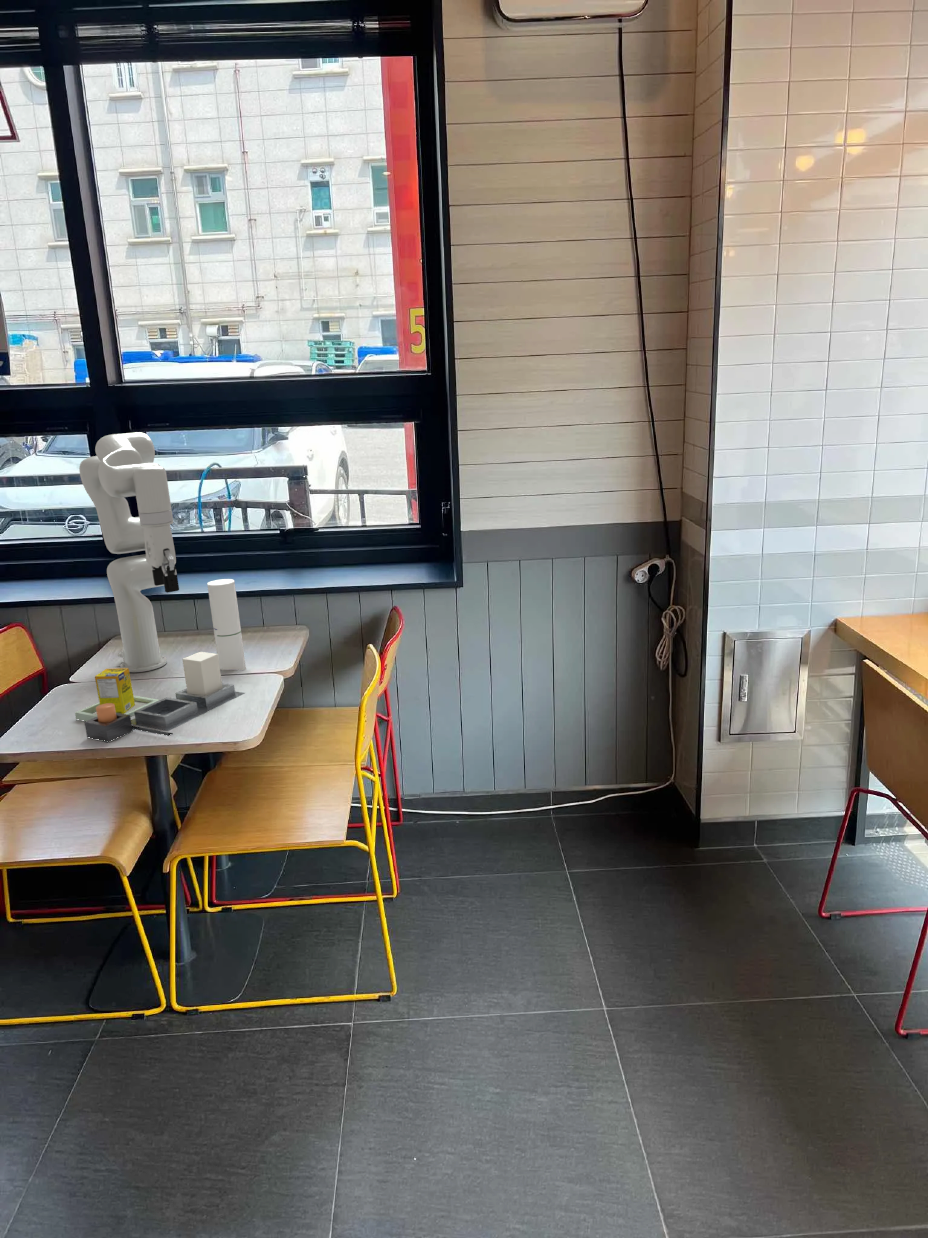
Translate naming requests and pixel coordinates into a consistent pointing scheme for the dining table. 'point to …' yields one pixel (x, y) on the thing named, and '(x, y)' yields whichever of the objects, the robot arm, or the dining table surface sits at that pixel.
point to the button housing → (108, 728)
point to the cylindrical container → (226, 624)
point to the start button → (106, 713)
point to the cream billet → (202, 673)
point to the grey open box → (180, 709)
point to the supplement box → (115, 689)
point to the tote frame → (88, 712)
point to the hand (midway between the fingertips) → (166, 588)
